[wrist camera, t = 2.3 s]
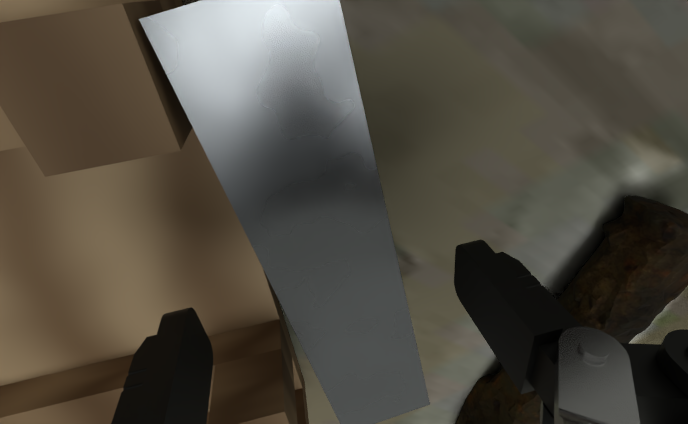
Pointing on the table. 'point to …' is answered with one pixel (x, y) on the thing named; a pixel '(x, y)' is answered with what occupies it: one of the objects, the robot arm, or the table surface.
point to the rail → (301, 184)
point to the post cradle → (118, 227)
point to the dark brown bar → (604, 298)
